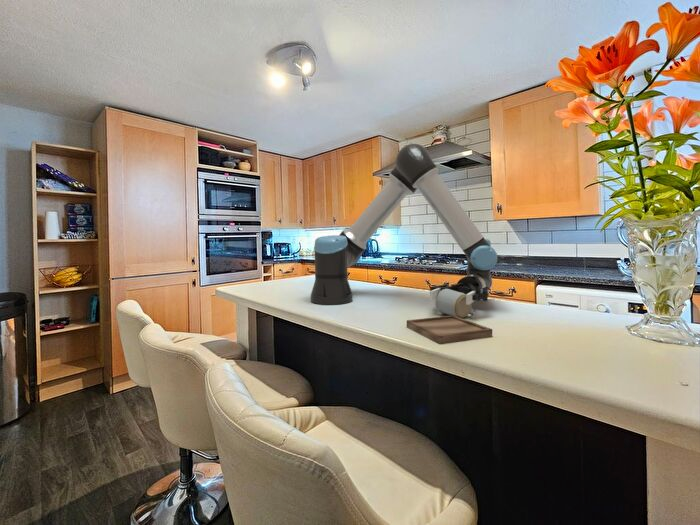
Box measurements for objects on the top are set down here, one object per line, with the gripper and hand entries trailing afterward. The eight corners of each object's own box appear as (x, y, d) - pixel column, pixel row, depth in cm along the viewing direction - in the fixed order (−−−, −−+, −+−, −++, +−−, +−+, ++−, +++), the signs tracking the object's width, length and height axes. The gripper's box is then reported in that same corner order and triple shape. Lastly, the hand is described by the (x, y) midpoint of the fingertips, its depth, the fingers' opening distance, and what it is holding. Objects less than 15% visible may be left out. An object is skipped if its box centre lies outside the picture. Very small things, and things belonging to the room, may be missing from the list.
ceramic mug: (456, 320, 86) (456, 293, 86) (434, 314, 93) (435, 289, 93) (481, 316, 91) (482, 290, 91) (459, 310, 98) (459, 287, 98)
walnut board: (406, 326, 81) (406, 320, 81) (452, 321, 85) (452, 315, 85) (439, 344, 68) (439, 336, 67) (492, 336, 72) (492, 329, 72)
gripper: (507, 301, 99) (491, 316, 81) (438, 295, 112) (411, 306, 94) (507, 277, 99) (492, 287, 81) (438, 273, 112) (411, 281, 93)
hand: (448, 297), depth 87 cm, fingers closed on ceramic mug, 9 cm apart
